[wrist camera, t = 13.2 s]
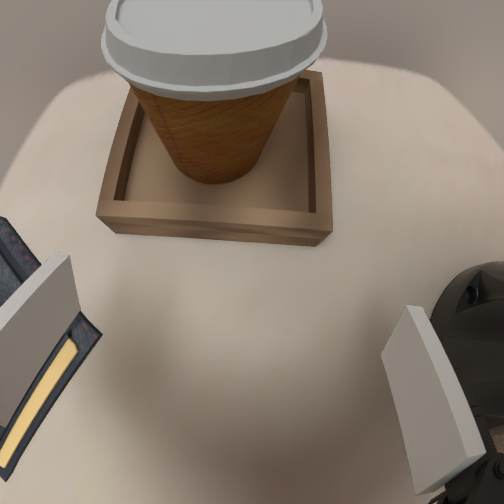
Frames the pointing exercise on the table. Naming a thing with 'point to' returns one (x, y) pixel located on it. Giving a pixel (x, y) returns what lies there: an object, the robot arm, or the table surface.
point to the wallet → (56, 365)
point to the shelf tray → (231, 193)
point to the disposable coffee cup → (213, 73)
